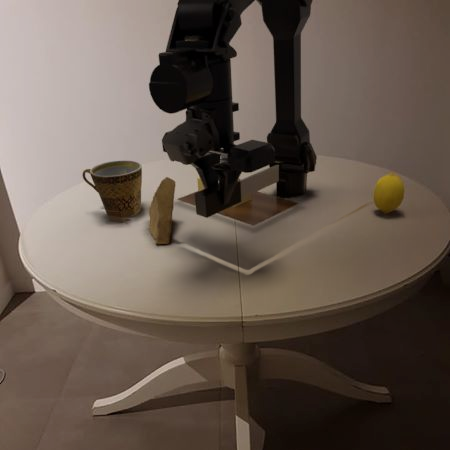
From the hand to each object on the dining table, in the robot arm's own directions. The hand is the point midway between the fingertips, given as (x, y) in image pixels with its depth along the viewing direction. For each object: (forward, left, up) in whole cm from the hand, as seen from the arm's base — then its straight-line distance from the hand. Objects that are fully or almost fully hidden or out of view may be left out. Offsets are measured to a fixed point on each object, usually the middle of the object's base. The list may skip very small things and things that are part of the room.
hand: (219, 201), depth 75 cm
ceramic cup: (+1, -29, -10) cm, 31 cm away
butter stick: (-18, -18, -9) cm, 27 cm away
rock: (+1, -15, -10) cm, 18 cm away
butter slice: (-18, -12, -9) cm, 23 cm away
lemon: (-33, +13, -10) cm, 36 cm away
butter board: (-18, -13, -10) cm, 24 cm away
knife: (-5, 0, -1) cm, 6 cm away
